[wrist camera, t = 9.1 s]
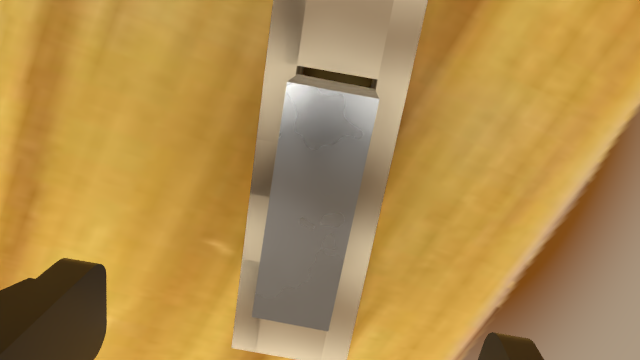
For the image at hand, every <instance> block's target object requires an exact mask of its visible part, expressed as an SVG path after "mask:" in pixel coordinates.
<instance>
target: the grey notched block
mask: <svg viewBox="0 0 640 360" xmlns="http://www.w3.org/2000/svg"><path fill="white" fill-rule="evenodd" d="M379 100H380V99H379V97H378V95H377V93H376V91H375V89H374V88H368V87H363V86H358V85H352V84H347V83H342V82H336V81H331V80H326V79H321V78H315V77H310V76H305V75H299V74H297V75H296V76H294V77H293V78H292V79H290V80H289V81H287V85H286V92H285V98H284V105H283V112H282V118H281V125H280V132H279V138H278V145H277V152H276V158H275V165H274V172H273V178H272V185H271V191H270V198H269V205H268V211H267V218H266V225H265V231H264V238H263V245H262V251H261V258H260V264H259V271H258V278H257V284H256V291H255V298H254V304H253V311H252V317H254V318H259V319H265V320H270V321H275V322H280V323H286V324H291V325H296V326H302V327H307V328H312V329H317V330H323V331H329V326H330V322H331V317H332V313H333V308H334V304H335V299H336V295H337V290H338V286H339V281H340V277H341V272H342V268H343V263H344V258H345V254H346V249H347V245H348V240H349V236H350V231H351V227H352V222H353V218H354V213H355V209H356V204H357V200H358V195H359V190H360V186H361V181H362V177H363V172H364V168H365V163H366V159H367V154H368V150H369V145H370V141H371V136H372V132H373V127H374V122H375V118H376V113H377V109H378V104H379Z"/></svg>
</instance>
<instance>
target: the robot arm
mask: <svg viewBox="0 0 640 360" xmlns="http://www.w3.org/2000/svg"><path fill="white" fill-rule="evenodd" d="M106 325H107V319H106V270H105V267H104V266H103V265H102V264H97V263H91V262H85V261H79V260H73V259H68V258H63V259H60V260H59V261H57V262H56V263H55V264H54V265H52V266H51V267H50V268H49V269H47V270H46V271H45V272H44V273H42V274H41V275H40V276H39V277H38V278H36V279H33V278H28V279H26V280H23V281H21V282H19V283H16V284H14V285H12V286H10V287H7V288H5V289H3V290H0V360H94V359H95V357H96V356H97V354H98V352H99V350H100V348H101V346H102V343H103V340H104V337H105V333H106ZM478 360H544V359H543V357H542V356H541V354H540V352H539V351H538V349H537V347H536V346H535V344H534V343H533V341H532V340H530V339H528V338H522V337H515V336H510V335H504V334H498V333H493V332H492V333H490V334H488V336H487V337H486V339H485V341H484V344H483V347H482V350H481V353H480V356H479V358H478Z"/></svg>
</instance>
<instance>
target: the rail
mask: <svg viewBox="0 0 640 360" xmlns="http://www.w3.org/2000/svg"><path fill="white" fill-rule="evenodd" d="M427 2H428V0H273V7H272V16H271V24H270V32H269V41H268V49H267V57H266V66H265V74H264V82H263V91H262V99H261V107H260V116H259V124H258V132H257V141H256V149H255V157H254V166H253V174H252V182H251V190H250V199H249V207H248V215H247V224H246V232H245V240H244V249H243V257H242V265H241V274H240V282H239V290H238V299H237V307H236V315H235V324H234V332H233V340H232V348H235V349H240V350H246V351H252V352H257V353H263V354H268V355H274V356H280V357H285V358H291V359H296V360H347V356H348V352H349V348H350V343H351V339H352V334H353V330H354V325H355V321H356V317H357V312H358V308H359V303H360V299H361V294H362V290H363V286H364V281H365V277H366V272H367V268H368V263H369V259H370V255H371V250H372V246H373V241H374V237H375V232H376V228H377V224H378V219H379V215H380V210H381V206H382V201H383V197H384V193H385V188H386V184H387V179H388V175H389V170H390V166H391V162H392V157H393V153H394V148H395V144H396V139H397V135H398V131H399V126H400V122H401V117H402V113H403V108H404V104H405V100H406V95H407V91H408V86H409V82H410V77H411V73H412V69H413V64H414V60H415V55H416V51H417V46H418V42H419V38H420V33H421V29H422V24H423V20H424V15H425V11H426V7H427ZM304 67H308V68H314V69H320V70H326V71H331V72H337V73H343V74H349V75H354V76H360V77H366V78H372V82H371V87H370V88H374V89H375V91H376V93H377V95H378V97H379V99H380V100H379V104H378V109H377V113H376V118H375V122H374V127H373V132H372V136H371V141H370V145H369V150H368V154H367V159H366V163H365V168H364V172H363V177H362V181H361V186H360V190H359V195H358V200H357V204H356V209H355V213H354V218H353V222H352V227H351V231H350V236H349V240H348V245H347V249H346V254H345V258H344V263H343V268H342V272H341V277H340V281H339V286H338V290H337V295H336V299H335V304H334V308H333V313H332V317H331V322H330V326H329V331H323V330H317V329H312V328H307V327H302V326H296V325H291V324H286V323H280V322H275V321H270V320H265V319H259V318H254V317H252V311H253V304H254V298H255V291H256V284H257V278H258V271H259V264H260V258H261V251H262V245H263V238H264V231H265V225H266V218H267V211H268V205H269V198H270V191H271V185H272V178H273V172H274V165H275V158H276V152H277V145H278V138H279V132H280V125H281V118H282V112H283V105H284V98H285V92H286V85H287V81H289V80H290V79H292V78H293V77H294V76H296V75H297V74H299V75H303V71H304Z"/></svg>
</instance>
